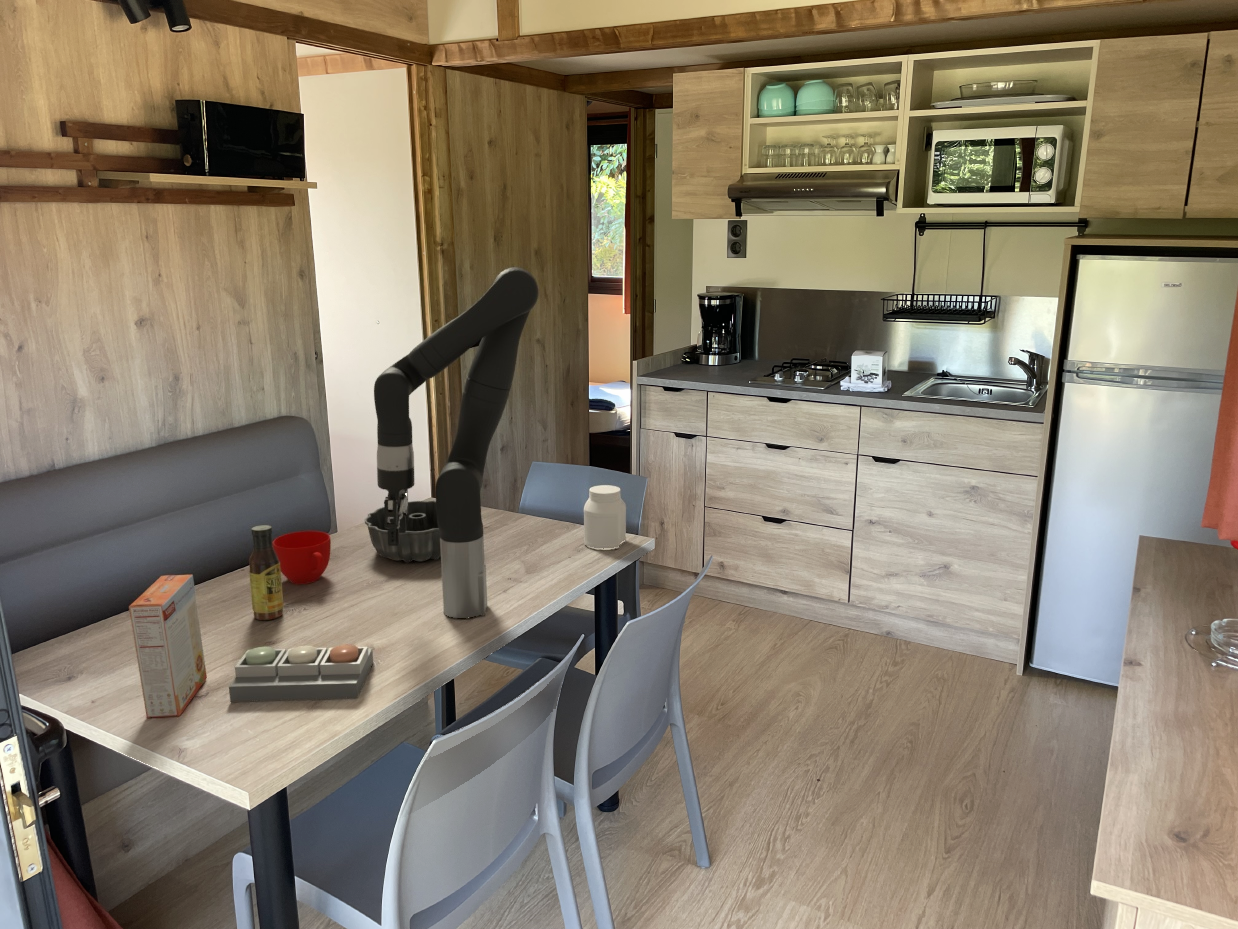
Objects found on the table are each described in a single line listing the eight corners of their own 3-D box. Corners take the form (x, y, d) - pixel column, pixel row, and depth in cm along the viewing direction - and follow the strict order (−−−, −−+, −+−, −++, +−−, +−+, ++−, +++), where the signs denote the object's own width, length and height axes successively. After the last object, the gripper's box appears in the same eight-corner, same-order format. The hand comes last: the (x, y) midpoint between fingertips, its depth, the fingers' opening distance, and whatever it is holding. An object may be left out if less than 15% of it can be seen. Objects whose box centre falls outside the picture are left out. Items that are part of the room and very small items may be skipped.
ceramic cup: (296, 598, 207) (292, 556, 204) (267, 578, 219) (263, 538, 217) (350, 584, 215) (346, 544, 213) (319, 565, 227) (316, 527, 225)
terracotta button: (361, 651, 170) (360, 644, 170) (355, 663, 165) (354, 656, 165) (334, 652, 170) (333, 644, 170) (327, 664, 165) (326, 657, 165)
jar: (596, 535, 250) (595, 482, 246) (629, 538, 247) (629, 485, 243) (580, 548, 240) (579, 493, 236) (614, 552, 236) (614, 496, 233)
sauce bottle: (273, 622, 194) (264, 533, 189) (247, 620, 195) (237, 531, 190) (290, 610, 200) (282, 524, 195) (264, 608, 201) (256, 522, 196)
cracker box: (174, 680, 169) (160, 574, 164) (208, 679, 169) (195, 573, 164) (142, 719, 155) (126, 604, 150) (179, 717, 156) (164, 603, 151)
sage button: (279, 653, 169) (278, 646, 169) (270, 666, 165) (270, 658, 164) (251, 654, 169) (250, 647, 169) (242, 666, 164) (241, 659, 164)
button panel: (373, 662, 176) (371, 638, 175) (357, 698, 162) (355, 672, 161) (256, 665, 175) (254, 641, 173) (230, 702, 161) (227, 676, 160)
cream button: (320, 652, 170) (319, 645, 169) (313, 665, 165) (312, 657, 165) (293, 653, 170) (292, 645, 169) (285, 665, 165) (284, 658, 164)
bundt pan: (423, 576, 220) (421, 537, 218) (344, 558, 233) (341, 520, 231) (491, 545, 242) (489, 509, 240) (416, 529, 255) (413, 495, 253)
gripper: (408, 473, 183) (409, 550, 187) (419, 456, 197) (420, 528, 201) (370, 473, 183) (372, 549, 187) (383, 456, 197) (385, 527, 201)
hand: (397, 538), depth 194 cm, fingers open, 8 cm apart
